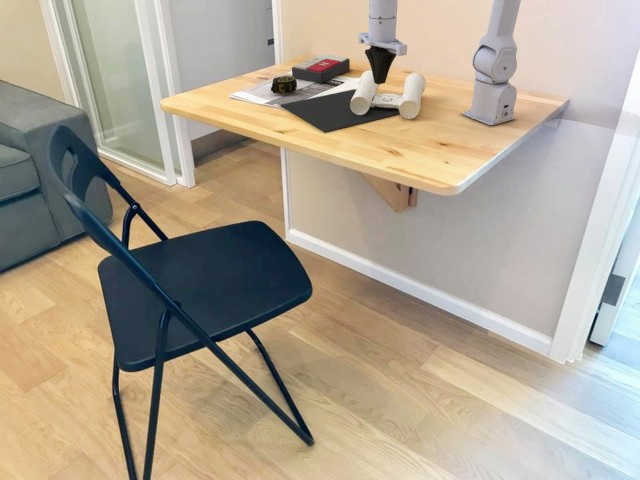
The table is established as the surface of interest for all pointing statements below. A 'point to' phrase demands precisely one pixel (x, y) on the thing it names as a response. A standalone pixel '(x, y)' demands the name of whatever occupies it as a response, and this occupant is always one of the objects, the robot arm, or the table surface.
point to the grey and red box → (321, 68)
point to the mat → (335, 111)
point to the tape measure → (284, 84)
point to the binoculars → (389, 96)
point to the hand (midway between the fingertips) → (379, 83)
